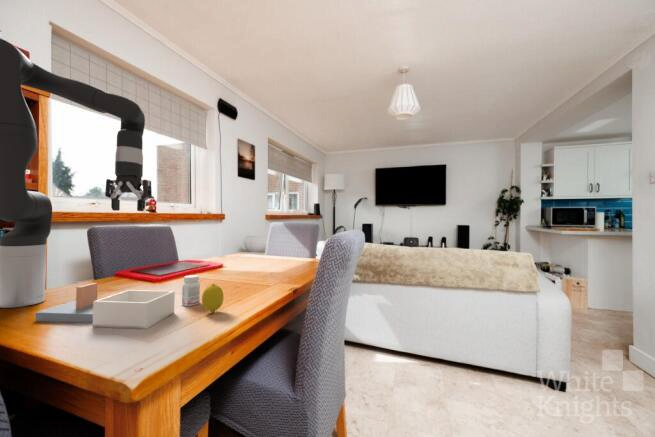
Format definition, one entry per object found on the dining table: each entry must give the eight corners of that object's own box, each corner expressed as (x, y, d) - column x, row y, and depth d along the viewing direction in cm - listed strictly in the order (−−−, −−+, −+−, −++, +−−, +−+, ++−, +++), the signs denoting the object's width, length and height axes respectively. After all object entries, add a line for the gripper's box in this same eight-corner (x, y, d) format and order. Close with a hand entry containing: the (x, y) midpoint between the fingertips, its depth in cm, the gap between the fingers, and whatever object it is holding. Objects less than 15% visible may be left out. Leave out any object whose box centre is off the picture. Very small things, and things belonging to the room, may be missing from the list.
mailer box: (92, 326, 65) (93, 301, 65) (128, 311, 76) (128, 289, 76) (145, 328, 65) (146, 303, 65) (174, 313, 76) (174, 291, 76)
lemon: (214, 308, 81) (215, 280, 81) (227, 311, 78) (228, 283, 78) (197, 313, 76) (197, 284, 76) (210, 317, 73) (210, 287, 73)
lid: (35, 321, 68) (36, 290, 68) (81, 305, 81) (82, 279, 81) (92, 322, 68) (93, 291, 68) (130, 307, 80) (130, 280, 80)
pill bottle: (202, 302, 86) (203, 275, 86) (193, 306, 82) (194, 278, 82) (188, 301, 87) (188, 274, 87) (178, 305, 82) (179, 277, 82)
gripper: (99, 159, 89) (97, 210, 89) (141, 160, 89) (140, 210, 88) (117, 164, 97) (116, 210, 97) (157, 164, 96) (156, 211, 96)
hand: (128, 210), depth 93 cm, fingers open, 8 cm apart
